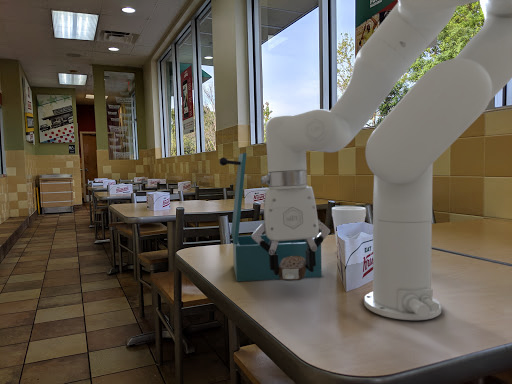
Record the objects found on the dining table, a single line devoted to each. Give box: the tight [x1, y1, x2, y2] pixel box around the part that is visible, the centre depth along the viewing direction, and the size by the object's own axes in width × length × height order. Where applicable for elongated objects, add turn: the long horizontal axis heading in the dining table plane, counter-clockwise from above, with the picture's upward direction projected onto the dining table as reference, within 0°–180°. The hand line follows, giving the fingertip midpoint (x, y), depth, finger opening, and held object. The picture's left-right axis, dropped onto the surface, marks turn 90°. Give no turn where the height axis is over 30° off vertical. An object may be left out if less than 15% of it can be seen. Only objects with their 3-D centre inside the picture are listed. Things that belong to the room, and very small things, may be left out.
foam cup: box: [331, 205, 367, 245], centre depth 108 cm, size 10×9×13 cm
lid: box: [218, 152, 248, 244], centre depth 89 cm, size 20×13×6 cm
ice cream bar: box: [278, 255, 306, 282], centre depth 74 cm, size 5×15×3 cm, turn 169°
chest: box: [232, 234, 323, 282], centre depth 91 cm, size 19×13×8 cm, turn 97°
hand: (293, 271), depth 74 cm, fingers closed on ice cream bar, 6 cm apart
